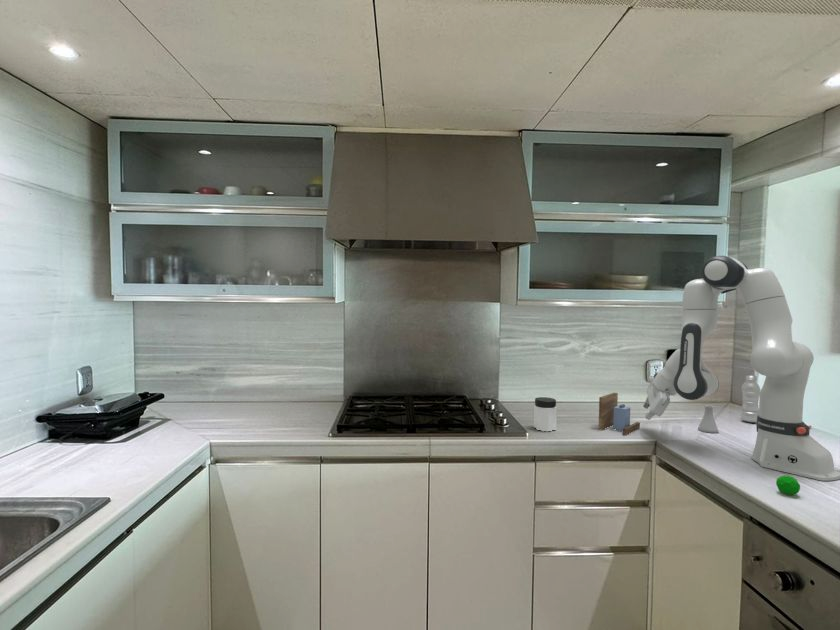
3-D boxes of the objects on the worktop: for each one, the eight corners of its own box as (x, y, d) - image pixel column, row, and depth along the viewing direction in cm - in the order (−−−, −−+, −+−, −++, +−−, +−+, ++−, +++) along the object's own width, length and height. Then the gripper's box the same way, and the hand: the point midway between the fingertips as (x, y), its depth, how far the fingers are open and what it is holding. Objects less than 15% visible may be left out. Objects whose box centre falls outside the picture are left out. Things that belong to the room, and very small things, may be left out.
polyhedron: (802, 499, 120) (802, 481, 120) (779, 495, 122) (779, 478, 122) (796, 492, 124) (796, 474, 124) (773, 488, 126) (774, 471, 126)
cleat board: (639, 428, 185) (640, 396, 184) (625, 435, 175) (626, 401, 174) (613, 423, 192) (614, 392, 192) (598, 429, 183) (599, 397, 182)
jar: (558, 432, 178) (559, 401, 178) (538, 432, 178) (538, 401, 178) (551, 425, 187) (552, 396, 187) (531, 425, 187) (532, 396, 186)
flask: (722, 434, 178) (723, 408, 178) (701, 432, 180) (702, 407, 179) (714, 429, 185) (715, 404, 185) (694, 427, 187) (695, 403, 186)
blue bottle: (629, 429, 183) (630, 404, 183) (624, 432, 180) (625, 406, 179) (618, 427, 186) (619, 402, 186) (613, 429, 183) (613, 404, 183)
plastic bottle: (757, 425, 192) (759, 377, 191) (738, 421, 197) (740, 375, 196) (761, 422, 196) (763, 376, 195) (742, 419, 201) (744, 374, 200)
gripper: (678, 400, 162) (656, 429, 168) (670, 378, 181) (651, 405, 186) (661, 392, 164) (640, 421, 169) (655, 370, 182) (636, 397, 188)
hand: (645, 412), depth 178 cm, fingers open, 8 cm apart
